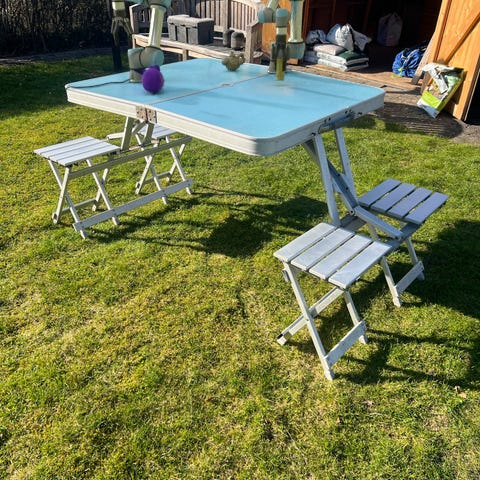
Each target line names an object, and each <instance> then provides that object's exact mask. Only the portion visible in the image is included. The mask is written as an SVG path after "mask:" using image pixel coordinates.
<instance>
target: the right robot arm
mask: <svg viewBox="0 0 480 480" xmlns="http://www.w3.org/2000/svg"><path fill="white" fill-rule="evenodd" d="M280 1H281V0H267V2H266V4H265V7H264V9H263V10H259V11H258V13H257V21H258V22H259V23H260V24H275V41H272V42H271V43H270V47H269V48H270V51H269V54H270V55H269V57H270V58H269V60H270V61H269V65H268V68H267V73H268V74H271V75H276V69H277V58H284V61H283V72H284V74H287V73H288V71H292V69H291V68H287V67H288V61H290V60H301V59H302V58H303V57H304V53H305V49H306V43H305V42H304V39H303V38H302V26H303V25H302V20H303V3H304V2H305V0H288V2H289V3H290V11H289V10H288V8H286V7H280V8H278V6H279V3H280ZM289 22H290V23H289ZM288 23H289V38H288Z"/></svg>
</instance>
